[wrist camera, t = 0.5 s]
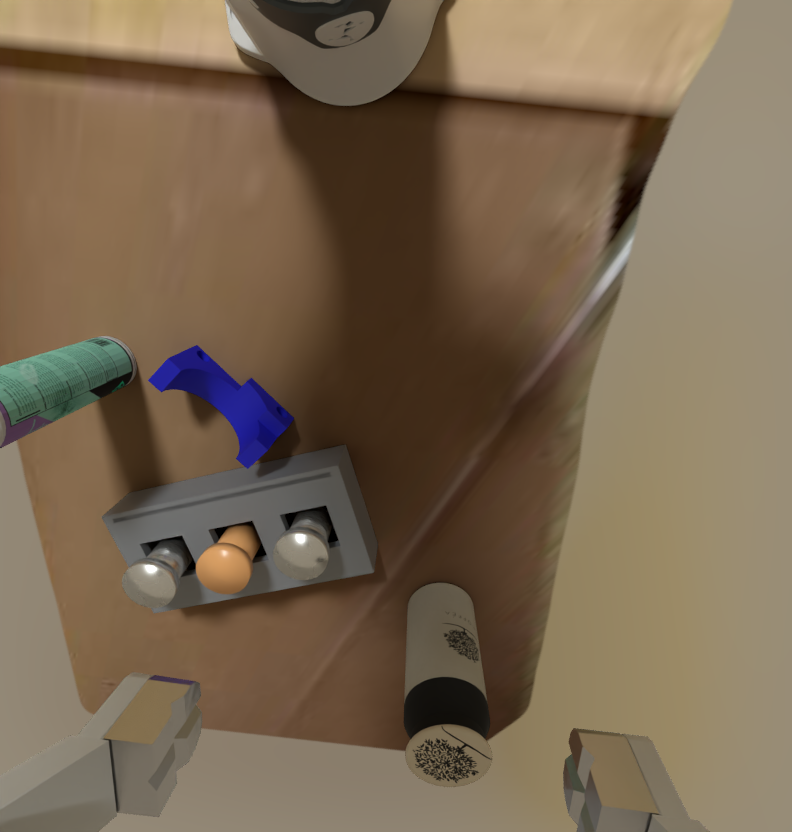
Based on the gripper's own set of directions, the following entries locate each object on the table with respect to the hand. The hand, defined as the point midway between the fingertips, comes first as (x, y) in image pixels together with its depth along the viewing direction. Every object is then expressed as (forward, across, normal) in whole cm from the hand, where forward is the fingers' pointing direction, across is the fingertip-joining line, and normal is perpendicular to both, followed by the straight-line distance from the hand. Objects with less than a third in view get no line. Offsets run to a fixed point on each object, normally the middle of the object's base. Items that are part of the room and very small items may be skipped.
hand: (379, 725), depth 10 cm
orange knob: (+37, +18, +17) cm, 45 cm away
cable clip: (+39, +20, +2) cm, 43 cm away
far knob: (+37, +26, +20) cm, 49 cm away
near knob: (+37, +11, +15) cm, 41 cm away
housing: (+40, +18, +17) cm, 47 cm away
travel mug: (+42, -4, +28) cm, 51 cm away
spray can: (+38, +32, 0) cm, 50 cm away
